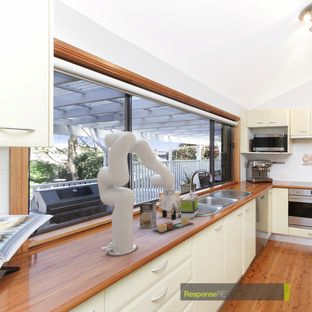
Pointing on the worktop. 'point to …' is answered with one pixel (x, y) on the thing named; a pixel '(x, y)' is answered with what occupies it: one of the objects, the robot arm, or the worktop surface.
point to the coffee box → (147, 215)
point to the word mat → (163, 227)
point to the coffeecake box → (177, 197)
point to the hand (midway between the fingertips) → (169, 218)
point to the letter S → (169, 225)
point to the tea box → (189, 206)
